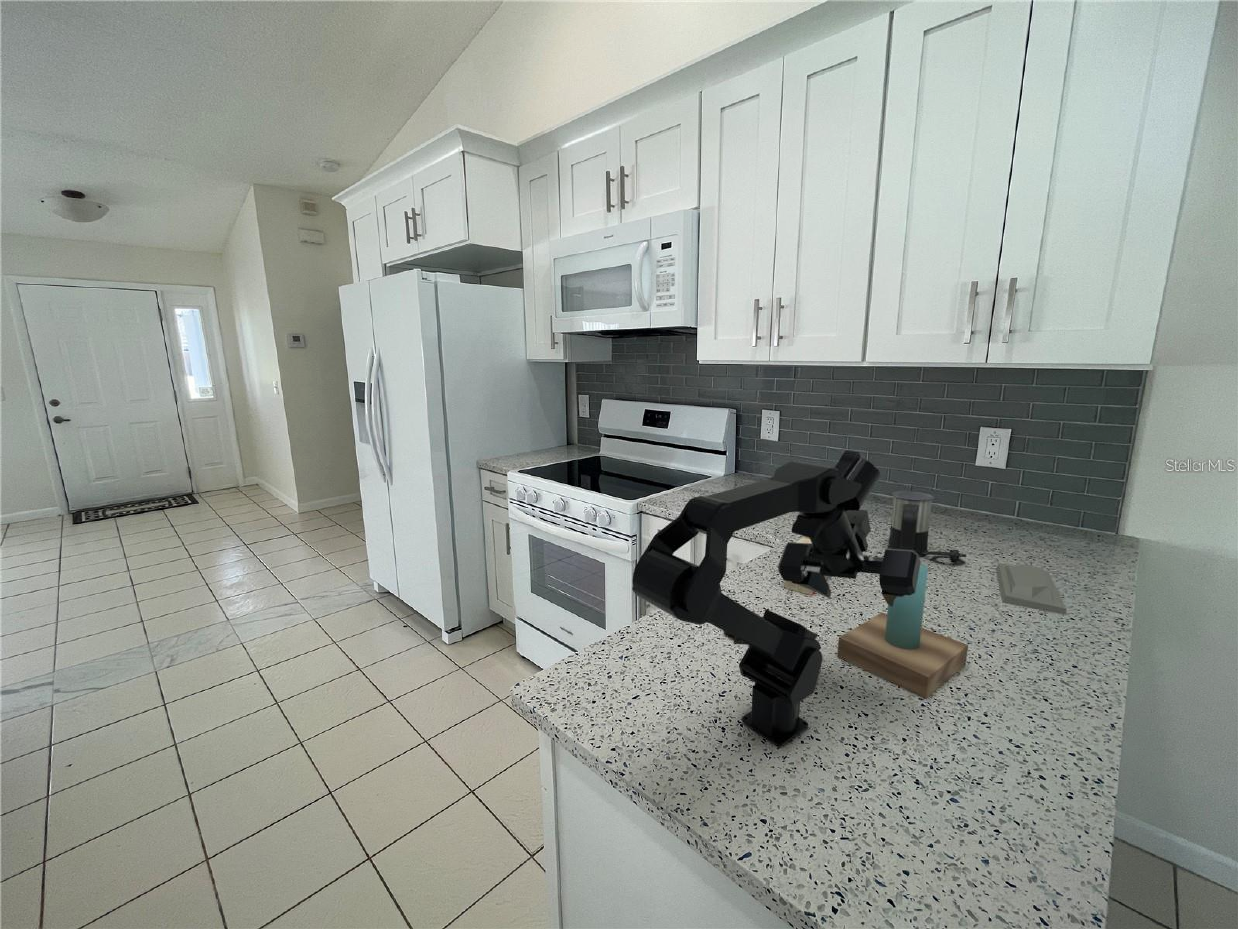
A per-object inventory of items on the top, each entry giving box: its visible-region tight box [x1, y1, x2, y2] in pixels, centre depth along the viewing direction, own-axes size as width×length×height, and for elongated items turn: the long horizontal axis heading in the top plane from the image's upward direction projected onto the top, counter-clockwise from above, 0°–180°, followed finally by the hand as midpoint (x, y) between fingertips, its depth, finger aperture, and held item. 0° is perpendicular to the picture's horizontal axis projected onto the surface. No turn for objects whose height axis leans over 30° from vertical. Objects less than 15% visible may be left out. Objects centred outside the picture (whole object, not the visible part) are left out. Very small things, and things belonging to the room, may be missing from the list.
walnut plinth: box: [837, 612, 969, 699], centre depth 86 cm, size 14×14×4 cm
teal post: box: [885, 563, 929, 649], centre depth 84 cm, size 5×5×13 cm
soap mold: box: [995, 563, 1068, 616], centre depth 111 cm, size 10×20×4 cm, turn 148°
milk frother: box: [887, 490, 967, 561], centre depth 130 cm, size 14×16×15 cm
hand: (859, 599), depth 80 cm, fingers open, 9 cm apart
